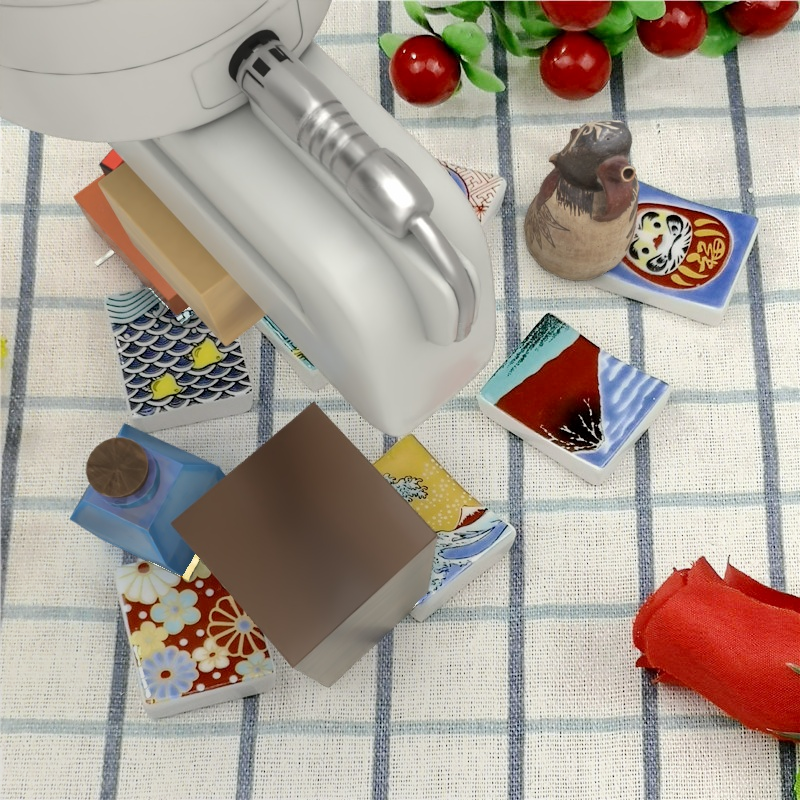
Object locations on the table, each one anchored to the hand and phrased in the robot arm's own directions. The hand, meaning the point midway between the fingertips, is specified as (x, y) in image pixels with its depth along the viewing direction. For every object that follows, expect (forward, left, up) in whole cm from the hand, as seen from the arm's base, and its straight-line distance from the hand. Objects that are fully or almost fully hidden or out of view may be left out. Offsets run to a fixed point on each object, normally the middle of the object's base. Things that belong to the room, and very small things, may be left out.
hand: (231, 234), depth 32 cm
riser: (-4, -6, -33) cm, 33 cm away
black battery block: (+4, +19, -29) cm, 34 cm away
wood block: (0, 0, -1) cm, 1 cm away
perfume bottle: (-8, +4, -33) cm, 34 cm away
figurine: (+24, +1, -33) cm, 41 cm away
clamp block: (+7, +19, -33) cm, 38 cm away
